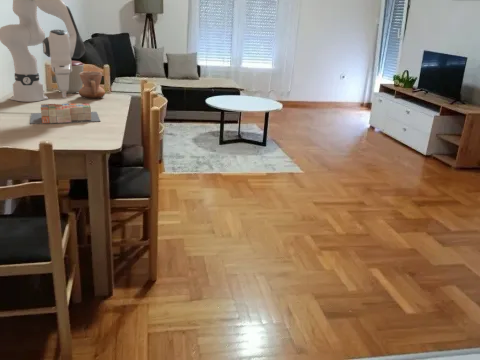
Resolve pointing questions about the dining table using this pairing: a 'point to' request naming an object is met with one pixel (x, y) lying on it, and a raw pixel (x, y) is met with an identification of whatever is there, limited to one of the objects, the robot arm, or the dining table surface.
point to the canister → (74, 78)
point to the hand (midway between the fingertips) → (64, 97)
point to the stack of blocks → (65, 112)
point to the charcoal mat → (37, 119)
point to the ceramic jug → (91, 85)
